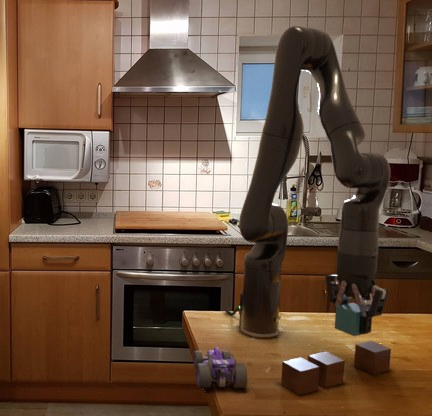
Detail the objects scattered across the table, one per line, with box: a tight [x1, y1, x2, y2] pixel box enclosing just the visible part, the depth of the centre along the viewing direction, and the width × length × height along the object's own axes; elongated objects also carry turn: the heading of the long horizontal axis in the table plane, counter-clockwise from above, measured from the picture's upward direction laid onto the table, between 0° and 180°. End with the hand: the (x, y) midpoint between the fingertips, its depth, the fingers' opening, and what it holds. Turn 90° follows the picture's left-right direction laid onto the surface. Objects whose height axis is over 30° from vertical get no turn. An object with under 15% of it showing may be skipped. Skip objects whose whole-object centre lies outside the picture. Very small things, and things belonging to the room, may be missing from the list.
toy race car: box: [192, 347, 248, 389], centre depth 111 cm, size 10×15×6 cm, turn 1°
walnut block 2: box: [307, 351, 345, 389], centre depth 109 cm, size 5×5×5 cm
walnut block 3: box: [353, 340, 392, 376], centre depth 115 cm, size 5×5×5 cm
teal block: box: [334, 302, 372, 337], centre depth 110 cm, size 5×5×5 cm
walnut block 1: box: [280, 356, 319, 396], centre depth 106 cm, size 5×5×5 cm
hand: (352, 328), depth 110 cm, fingers closed on teal block, 5 cm apart
